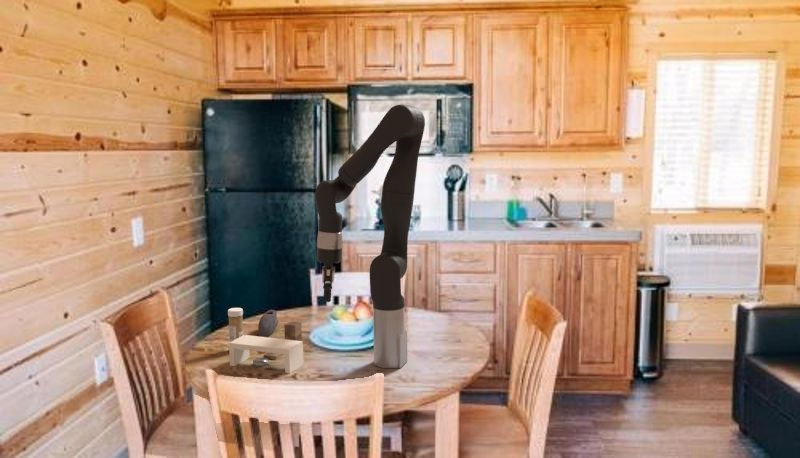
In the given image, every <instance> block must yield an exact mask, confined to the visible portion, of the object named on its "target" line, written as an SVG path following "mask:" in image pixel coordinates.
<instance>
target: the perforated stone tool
mask: <svg viewBox="0 0 800 458" xmlns="http://www.w3.org/2000/svg"><path fill="white" fill-rule="evenodd" d="M276 311H277V310H274V309H269V310H267V311H266V312H264V313H263V314H262V315H261V318H260V319H259V321H258V327H257V333H258V334H259V337H270V335H271V334H273V333H274V332H275V330H276V329H277V327H278V324H279V320H278V317H277V312H276Z"/></svg>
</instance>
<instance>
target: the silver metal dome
mask: <svg viewBox="0 0 800 458" xmlns="http://www.w3.org/2000/svg"><path fill="white" fill-rule="evenodd" d="M252 365H253V367H255V368H264V367H266V366H268V365H269V359H267V358H264V357H259V358H255V359H253V362H252Z"/></svg>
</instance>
